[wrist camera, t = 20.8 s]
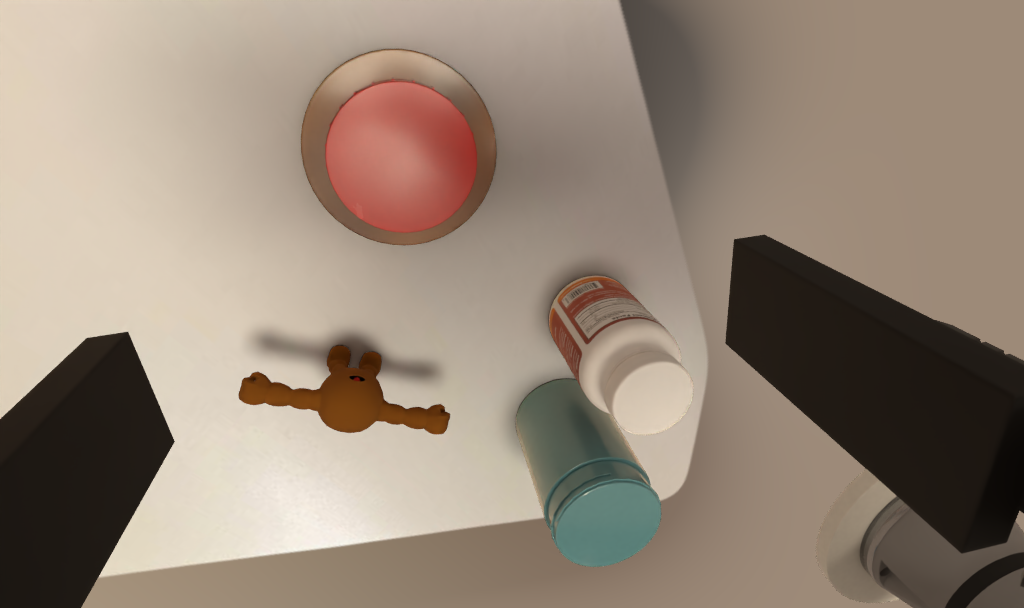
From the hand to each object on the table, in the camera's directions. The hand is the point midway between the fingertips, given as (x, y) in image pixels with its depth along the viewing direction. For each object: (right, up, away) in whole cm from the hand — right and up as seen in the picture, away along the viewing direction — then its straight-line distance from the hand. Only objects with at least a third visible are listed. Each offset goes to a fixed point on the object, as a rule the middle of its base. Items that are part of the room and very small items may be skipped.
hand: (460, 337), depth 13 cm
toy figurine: (-9, -3, +26) cm, 27 cm away
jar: (+5, -8, +31) cm, 32 cm away
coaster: (-5, +10, +21) cm, 23 cm away
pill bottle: (+7, 0, +28) cm, 28 cm away
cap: (-5, +9, +18) cm, 21 cm away
